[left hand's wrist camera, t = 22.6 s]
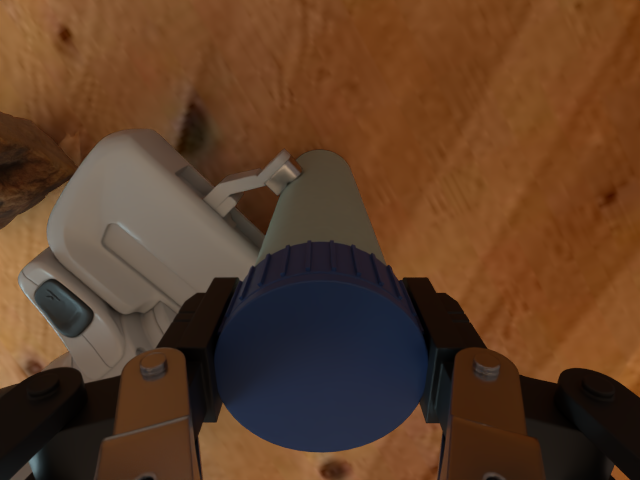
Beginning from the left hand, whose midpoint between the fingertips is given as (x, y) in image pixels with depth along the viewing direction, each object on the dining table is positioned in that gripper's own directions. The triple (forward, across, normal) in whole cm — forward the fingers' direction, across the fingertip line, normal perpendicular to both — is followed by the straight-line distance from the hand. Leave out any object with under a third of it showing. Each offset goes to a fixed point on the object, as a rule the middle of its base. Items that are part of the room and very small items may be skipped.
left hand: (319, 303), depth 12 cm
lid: (-3, 0, 0) cm, 3 cm away
